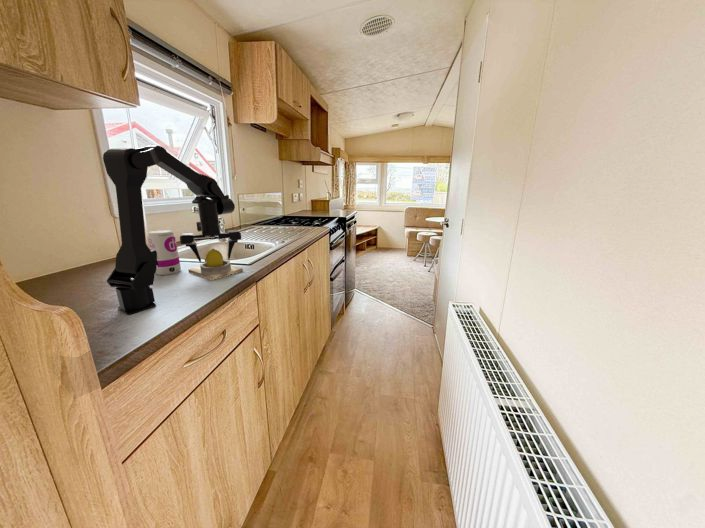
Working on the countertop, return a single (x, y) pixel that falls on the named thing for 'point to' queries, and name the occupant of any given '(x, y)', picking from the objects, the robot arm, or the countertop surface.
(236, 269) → the carrier board
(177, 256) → the supplement can
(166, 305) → the countertop surface
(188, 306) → the countertop surface
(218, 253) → the lemon
